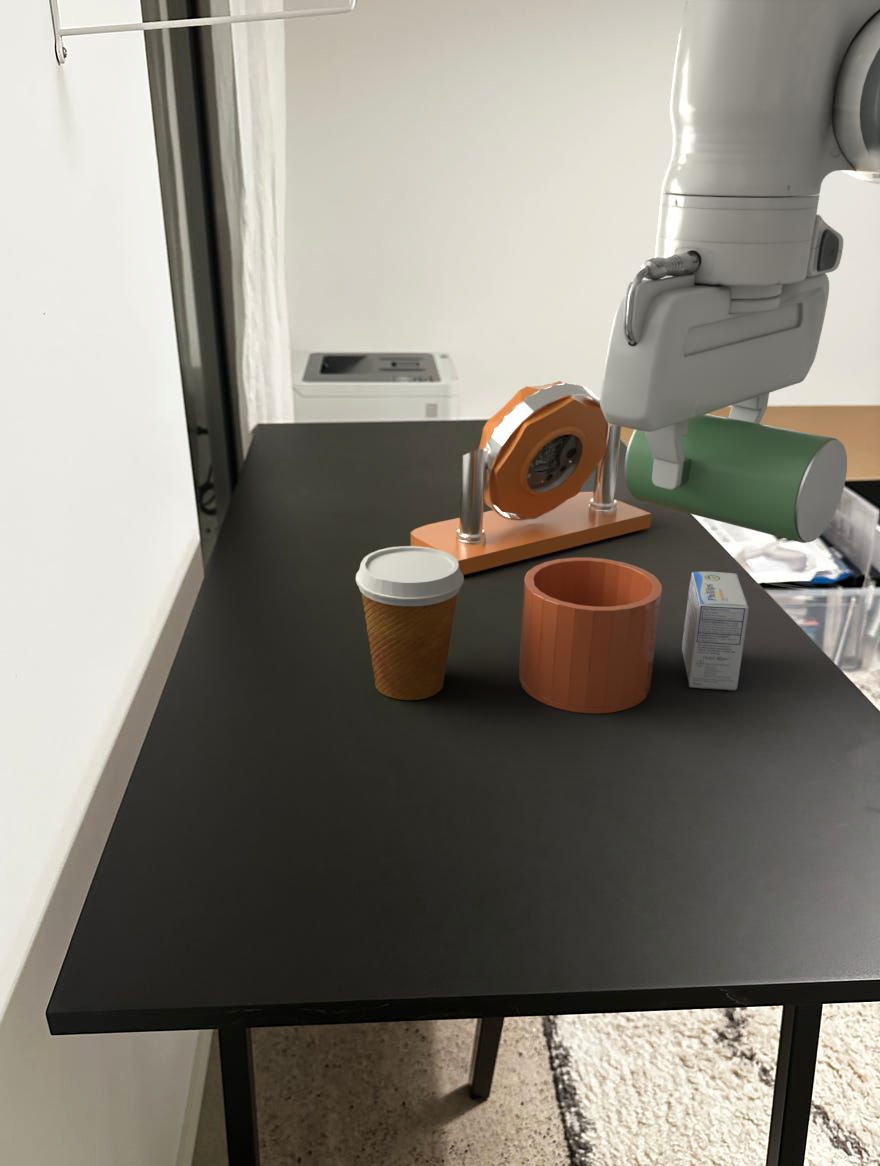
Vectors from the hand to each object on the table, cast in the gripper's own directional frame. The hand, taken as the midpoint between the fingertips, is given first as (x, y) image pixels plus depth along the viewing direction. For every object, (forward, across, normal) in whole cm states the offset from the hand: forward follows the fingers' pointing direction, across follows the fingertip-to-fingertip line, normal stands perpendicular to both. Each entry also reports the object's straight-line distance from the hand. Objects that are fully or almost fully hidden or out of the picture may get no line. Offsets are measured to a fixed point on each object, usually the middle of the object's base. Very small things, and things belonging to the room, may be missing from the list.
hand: (702, 472), depth 68 cm
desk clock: (+26, +38, +42) cm, 62 cm away
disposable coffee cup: (+26, 0, +27) cm, 37 cm away
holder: (+26, +12, +16) cm, 33 cm away
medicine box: (+26, +22, +9) cm, 35 cm away
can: (+3, 0, -2) cm, 3 cm away
